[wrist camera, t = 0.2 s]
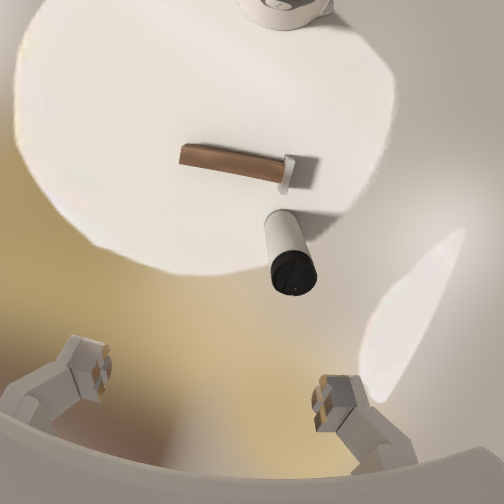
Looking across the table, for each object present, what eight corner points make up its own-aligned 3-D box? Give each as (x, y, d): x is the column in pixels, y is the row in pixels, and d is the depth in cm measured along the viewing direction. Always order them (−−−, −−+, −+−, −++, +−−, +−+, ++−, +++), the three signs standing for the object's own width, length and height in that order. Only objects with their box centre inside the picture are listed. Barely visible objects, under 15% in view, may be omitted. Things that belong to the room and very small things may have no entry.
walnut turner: (187, 135, 51) (181, 138, 46) (291, 155, 53) (295, 161, 48) (182, 167, 54) (176, 173, 49) (283, 187, 56) (286, 195, 51)
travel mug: (302, 212, 58) (326, 265, 40) (291, 243, 61) (307, 305, 43) (271, 203, 57) (281, 253, 39) (260, 234, 60) (265, 295, 42)
